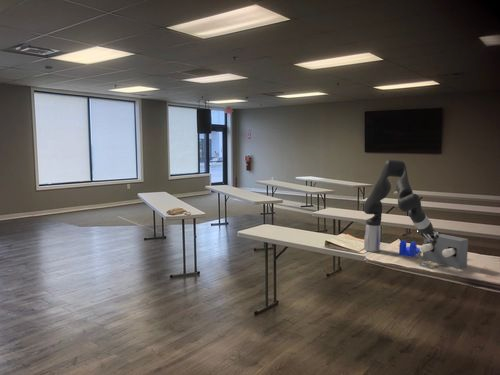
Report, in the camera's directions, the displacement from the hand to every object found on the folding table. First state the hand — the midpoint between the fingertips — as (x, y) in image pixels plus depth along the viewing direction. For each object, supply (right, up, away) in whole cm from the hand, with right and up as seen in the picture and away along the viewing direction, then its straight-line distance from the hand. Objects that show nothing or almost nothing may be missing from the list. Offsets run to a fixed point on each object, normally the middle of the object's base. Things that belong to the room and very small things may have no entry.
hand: (434, 242), depth 210 cm
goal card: (+3, -15, +13) cm, 20 cm away
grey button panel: (+15, -15, +19) cm, 28 cm away
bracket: (+4, -13, +41) cm, 43 cm away
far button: (+6, -8, +20) cm, 22 cm away
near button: (+13, -9, +9) cm, 18 cm away
